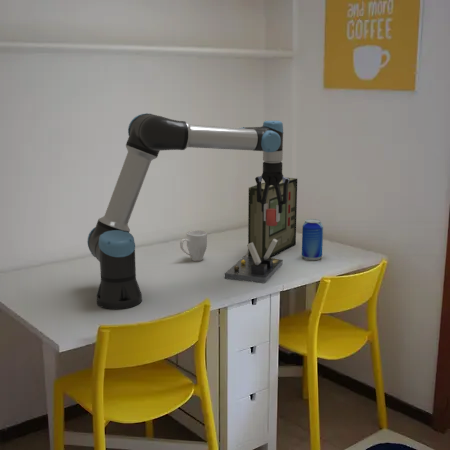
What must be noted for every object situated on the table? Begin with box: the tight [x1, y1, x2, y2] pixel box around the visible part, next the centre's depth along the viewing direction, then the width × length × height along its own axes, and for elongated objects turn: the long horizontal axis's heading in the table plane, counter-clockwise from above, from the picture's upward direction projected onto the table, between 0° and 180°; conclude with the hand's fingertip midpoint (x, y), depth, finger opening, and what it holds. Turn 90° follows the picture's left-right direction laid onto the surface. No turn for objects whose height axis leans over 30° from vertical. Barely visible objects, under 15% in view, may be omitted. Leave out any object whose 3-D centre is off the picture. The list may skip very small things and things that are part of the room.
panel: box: [224, 255, 284, 284], centre depth 244 cm, size 24×16×5 cm, turn 160°
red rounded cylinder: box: [266, 209, 277, 226], centre depth 247 cm, size 4×4×6 cm
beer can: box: [301, 218, 324, 261], centre depth 260 cm, size 8×8×16 cm
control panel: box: [247, 176, 298, 258], centre depth 268 cm, size 30×8×30 cm, turn 148°
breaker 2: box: [264, 239, 278, 260], centre depth 241 cm, size 3×2×8 cm, turn 160°
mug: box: [179, 230, 208, 262], centre depth 257 cm, size 12×8×11 cm
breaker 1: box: [247, 242, 261, 266], centre depth 235 cm, size 3×2×8 cm, turn 160°
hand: (271, 220), depth 247 cm, fingers closed on red rounded cylinder, 4 cm apart
